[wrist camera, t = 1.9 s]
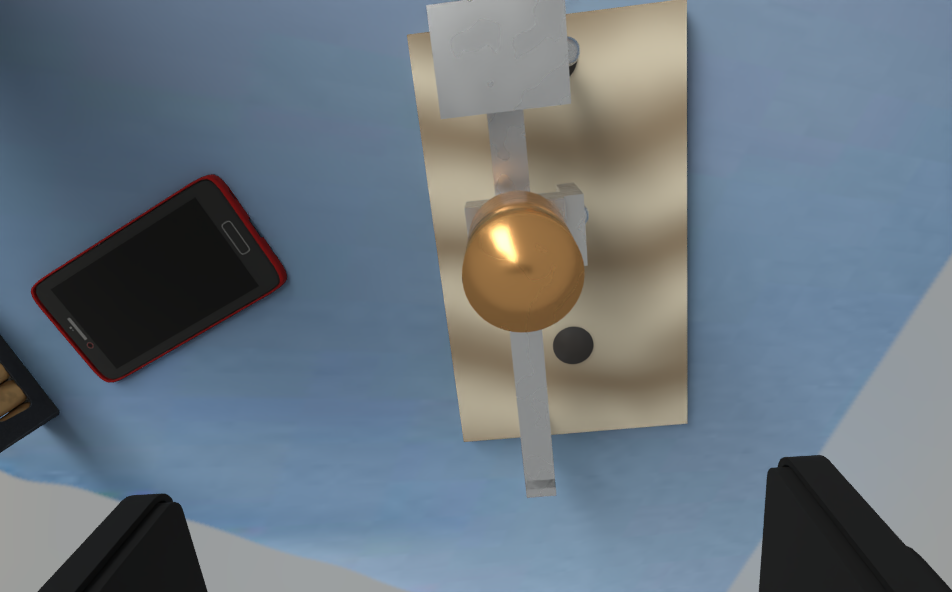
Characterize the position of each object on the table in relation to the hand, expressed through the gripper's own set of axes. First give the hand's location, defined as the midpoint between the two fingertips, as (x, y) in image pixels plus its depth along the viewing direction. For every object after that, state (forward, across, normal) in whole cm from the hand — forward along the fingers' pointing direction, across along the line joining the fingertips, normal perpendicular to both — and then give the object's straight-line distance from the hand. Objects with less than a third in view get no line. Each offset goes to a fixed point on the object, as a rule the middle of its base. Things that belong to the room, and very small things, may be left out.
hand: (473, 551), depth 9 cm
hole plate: (+27, -4, +2) cm, 27 cm away
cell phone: (+27, +21, +2) cm, 34 cm away
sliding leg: (+25, -2, -1) cm, 25 cm away
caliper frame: (+25, -2, +1) cm, 25 cm away
